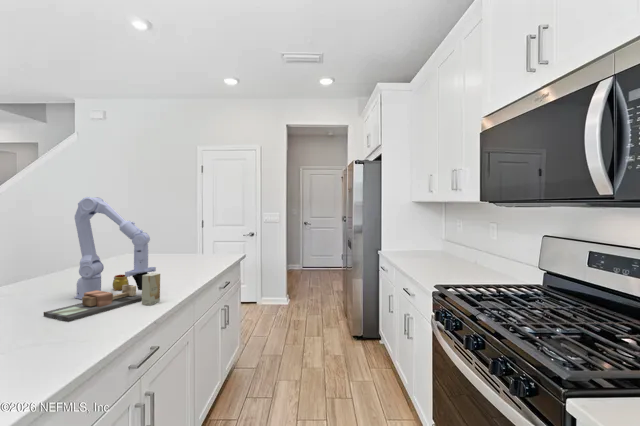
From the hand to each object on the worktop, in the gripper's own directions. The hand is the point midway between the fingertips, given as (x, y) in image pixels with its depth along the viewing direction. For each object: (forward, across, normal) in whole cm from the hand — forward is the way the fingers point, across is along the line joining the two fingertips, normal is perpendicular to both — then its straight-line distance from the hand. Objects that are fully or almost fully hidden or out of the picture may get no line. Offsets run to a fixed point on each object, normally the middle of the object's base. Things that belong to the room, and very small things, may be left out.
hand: (140, 289), depth 158 cm
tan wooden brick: (+1, -15, 0) cm, 15 cm away
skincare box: (+3, -6, -13) cm, 15 cm away
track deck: (+3, -20, 0) cm, 20 cm away
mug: (+3, +7, +22) cm, 23 cm away
